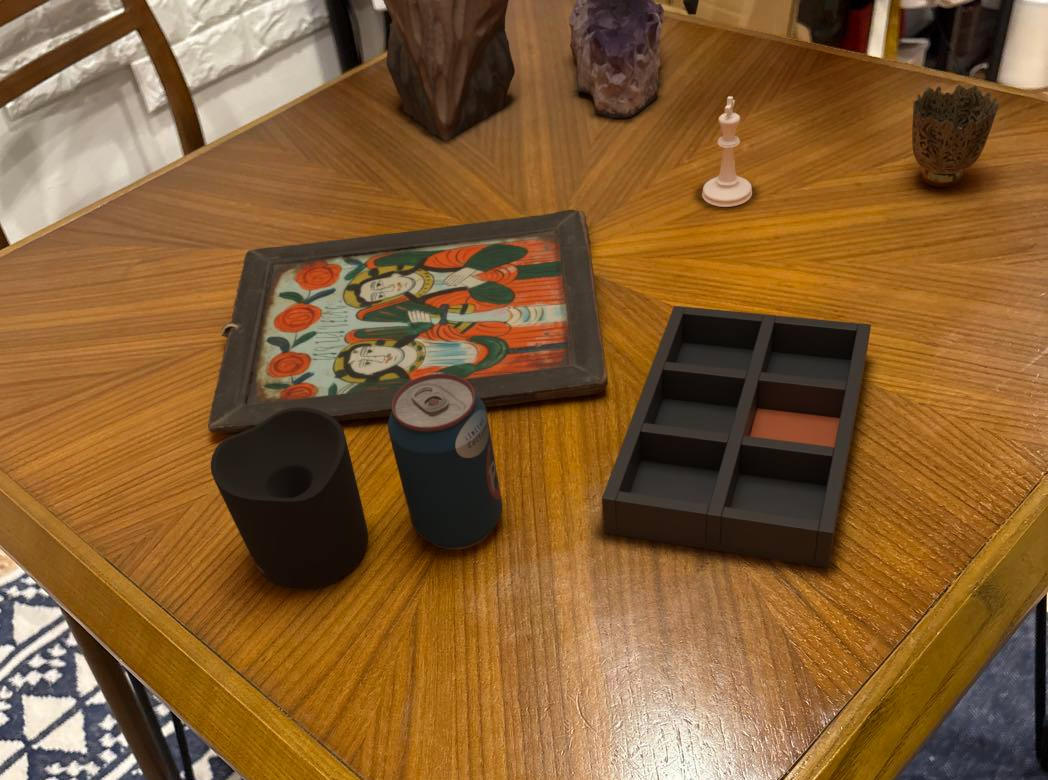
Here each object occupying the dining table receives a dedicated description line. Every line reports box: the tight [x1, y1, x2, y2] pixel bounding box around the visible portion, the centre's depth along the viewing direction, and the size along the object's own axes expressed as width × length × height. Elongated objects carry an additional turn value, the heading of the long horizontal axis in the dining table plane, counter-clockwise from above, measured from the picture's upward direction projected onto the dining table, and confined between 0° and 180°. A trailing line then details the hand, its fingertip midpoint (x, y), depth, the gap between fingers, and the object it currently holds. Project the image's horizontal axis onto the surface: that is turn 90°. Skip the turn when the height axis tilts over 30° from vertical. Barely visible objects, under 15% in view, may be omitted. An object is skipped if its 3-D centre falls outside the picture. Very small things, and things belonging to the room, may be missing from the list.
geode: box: [568, 0, 665, 119], centre depth 127 cm, size 20×12×10 cm, turn 2°
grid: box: [601, 305, 872, 569], centre depth 84 cm, size 16×24×4 cm
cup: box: [911, 84, 1000, 188], centre depth 105 cm, size 8×7×8 cm
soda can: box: [387, 374, 503, 550], centre depth 79 cm, size 7×7×12 cm
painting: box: [207, 209, 609, 434], centre depth 101 cm, size 28×35×2 cm
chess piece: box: [701, 95, 753, 208], centre depth 107 cm, size 5×5×10 cm
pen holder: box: [210, 407, 369, 591], centre depth 79 cm, size 9×9×10 cm
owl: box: [382, 0, 516, 142], centre depth 123 cm, size 13×13×20 cm
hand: (757, 12), depth 106 cm, fingers open, 13 cm apart
